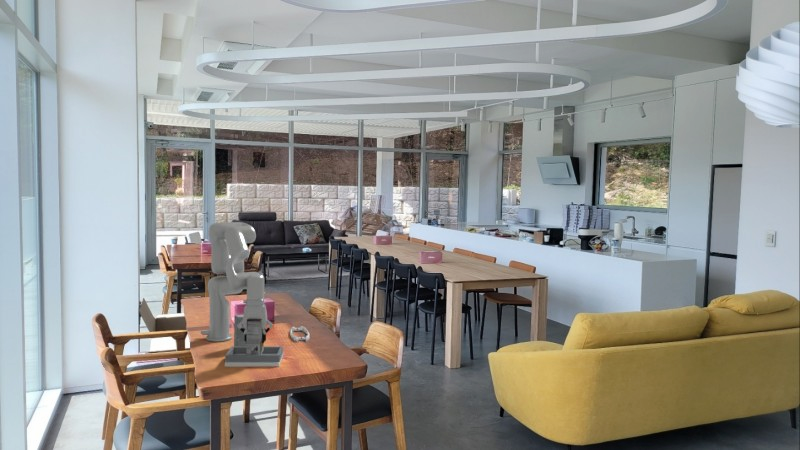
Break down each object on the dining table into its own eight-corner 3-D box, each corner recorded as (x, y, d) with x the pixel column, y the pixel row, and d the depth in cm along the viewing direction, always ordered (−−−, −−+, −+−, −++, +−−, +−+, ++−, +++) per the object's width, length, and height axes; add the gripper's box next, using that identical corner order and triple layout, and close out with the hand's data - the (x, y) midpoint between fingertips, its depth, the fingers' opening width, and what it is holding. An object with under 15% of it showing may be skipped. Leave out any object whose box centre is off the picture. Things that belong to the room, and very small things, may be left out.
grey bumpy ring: (306, 329, 307) (311, 342, 283) (288, 330, 304) (292, 343, 280) (306, 325, 307) (312, 337, 283) (288, 325, 304) (292, 338, 280)
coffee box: (249, 349, 254) (249, 314, 253) (264, 350, 255) (264, 314, 254) (245, 356, 245) (246, 319, 244) (260, 356, 246) (261, 319, 245)
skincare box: (236, 350, 264) (236, 317, 263) (233, 346, 271) (233, 314, 270) (254, 348, 268) (254, 316, 267) (251, 344, 275) (251, 312, 274)
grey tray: (224, 366, 241) (224, 356, 241) (232, 355, 257) (232, 345, 257) (279, 366, 244) (279, 356, 243) (283, 355, 259) (283, 345, 259)
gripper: (233, 304, 244) (233, 344, 245) (274, 304, 246) (273, 344, 247) (237, 300, 252) (237, 340, 253) (276, 301, 253) (276, 340, 254)
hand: (255, 342), depth 250 cm, fingers closed on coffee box, 6 cm apart
